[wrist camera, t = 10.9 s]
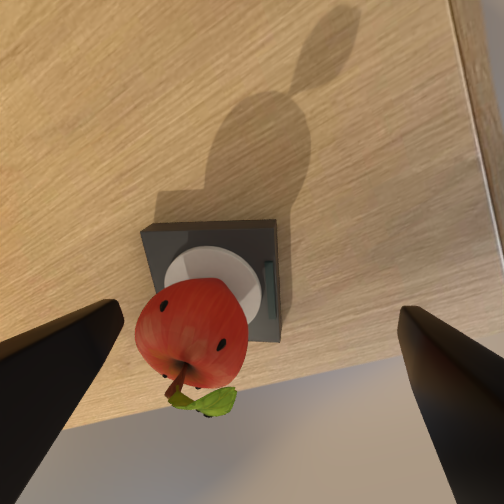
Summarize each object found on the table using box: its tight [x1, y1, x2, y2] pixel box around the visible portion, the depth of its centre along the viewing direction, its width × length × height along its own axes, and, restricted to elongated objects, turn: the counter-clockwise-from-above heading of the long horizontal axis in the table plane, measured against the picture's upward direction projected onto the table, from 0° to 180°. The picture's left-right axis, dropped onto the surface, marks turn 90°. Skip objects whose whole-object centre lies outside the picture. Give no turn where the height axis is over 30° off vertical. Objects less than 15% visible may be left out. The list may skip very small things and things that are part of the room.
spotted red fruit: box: [135, 278, 248, 418], centre depth 16 cm, size 8×7×10 cm
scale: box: [140, 219, 282, 343], centre depth 22 cm, size 10×10×3 cm
